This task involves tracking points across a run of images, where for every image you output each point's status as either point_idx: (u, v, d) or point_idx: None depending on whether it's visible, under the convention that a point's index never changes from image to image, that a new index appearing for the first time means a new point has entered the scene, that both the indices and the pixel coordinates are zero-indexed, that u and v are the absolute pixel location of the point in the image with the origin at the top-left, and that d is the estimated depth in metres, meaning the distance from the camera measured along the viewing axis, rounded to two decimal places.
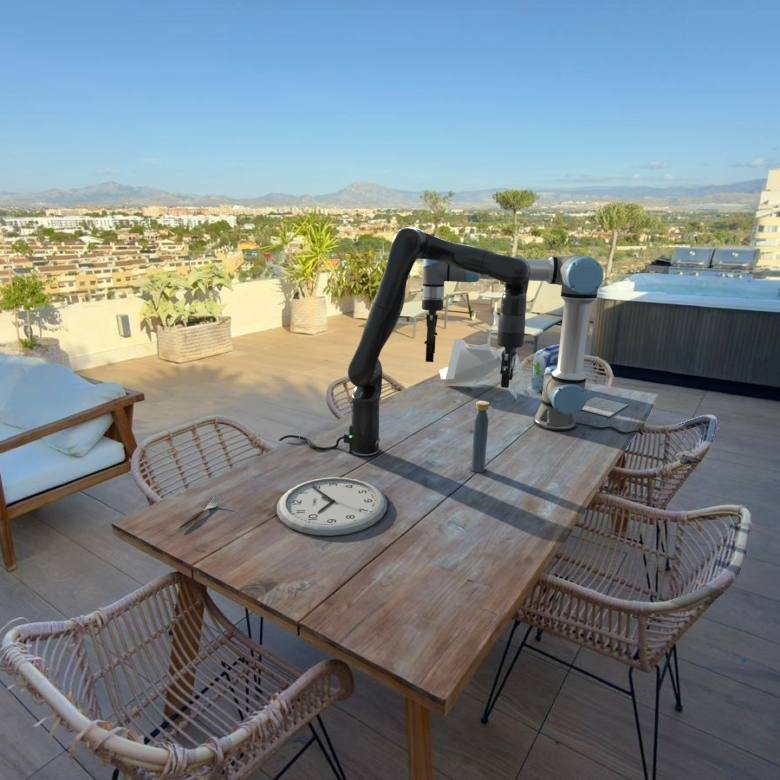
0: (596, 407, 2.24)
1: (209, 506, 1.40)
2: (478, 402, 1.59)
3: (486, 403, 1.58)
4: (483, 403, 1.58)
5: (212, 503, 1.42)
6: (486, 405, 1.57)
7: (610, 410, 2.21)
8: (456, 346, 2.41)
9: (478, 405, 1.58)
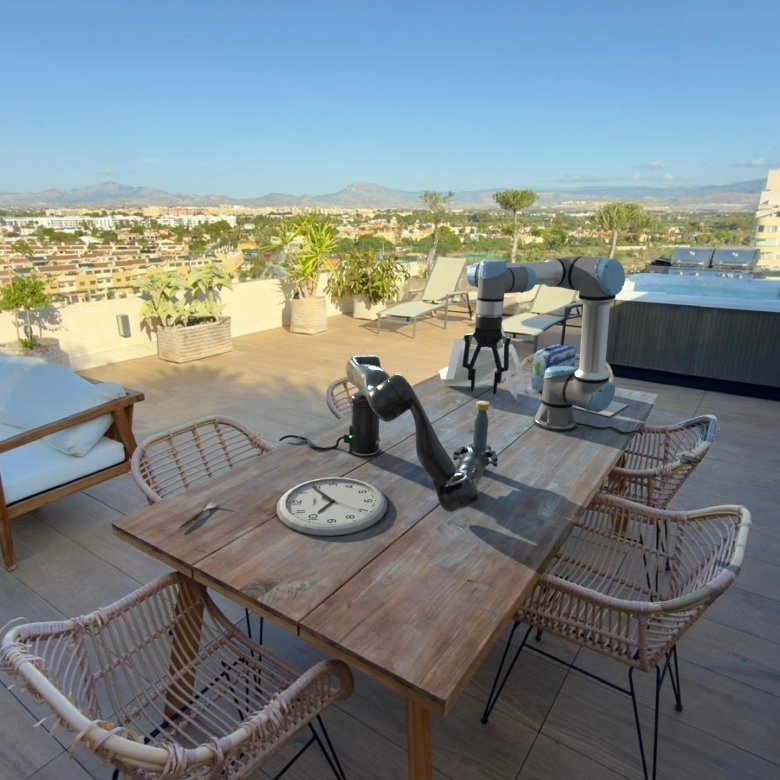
0: None
1: (209, 506, 1.40)
2: (478, 402, 1.59)
3: (486, 403, 1.58)
4: (483, 403, 1.58)
5: (212, 503, 1.42)
6: (486, 405, 1.57)
7: (610, 410, 2.21)
8: (456, 346, 2.41)
9: (478, 405, 1.58)
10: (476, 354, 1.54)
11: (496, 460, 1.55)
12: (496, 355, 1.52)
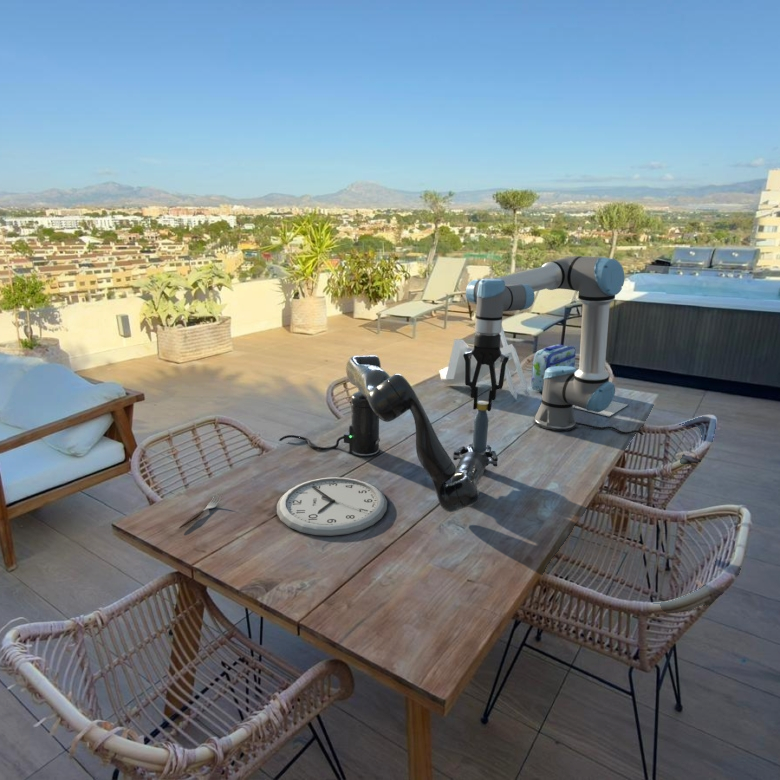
0: None
1: (209, 506, 1.40)
2: (478, 402, 1.59)
3: (486, 403, 1.58)
4: (483, 403, 1.58)
5: (212, 503, 1.42)
6: (486, 405, 1.57)
7: (610, 410, 2.21)
8: (456, 346, 2.41)
9: (478, 405, 1.58)
10: (477, 372, 1.55)
11: (496, 460, 1.55)
12: (492, 373, 1.54)
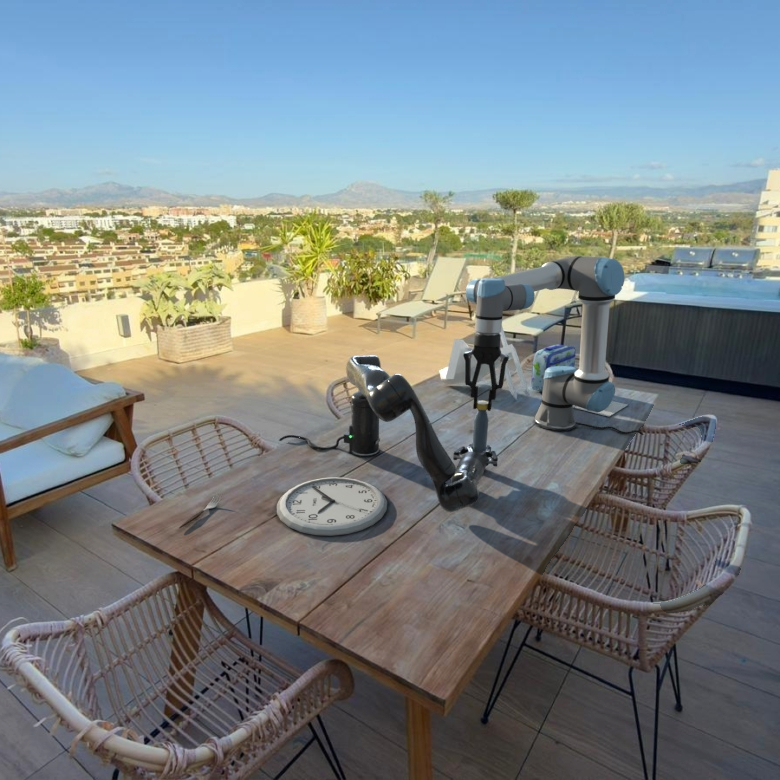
0: None
1: (209, 506, 1.40)
2: (485, 403, 1.58)
3: (482, 401, 1.60)
4: (484, 401, 1.59)
5: (212, 503, 1.42)
6: None
7: (610, 410, 2.21)
8: (456, 346, 2.41)
9: None
10: (477, 371, 1.55)
11: (496, 460, 1.55)
12: (492, 372, 1.54)
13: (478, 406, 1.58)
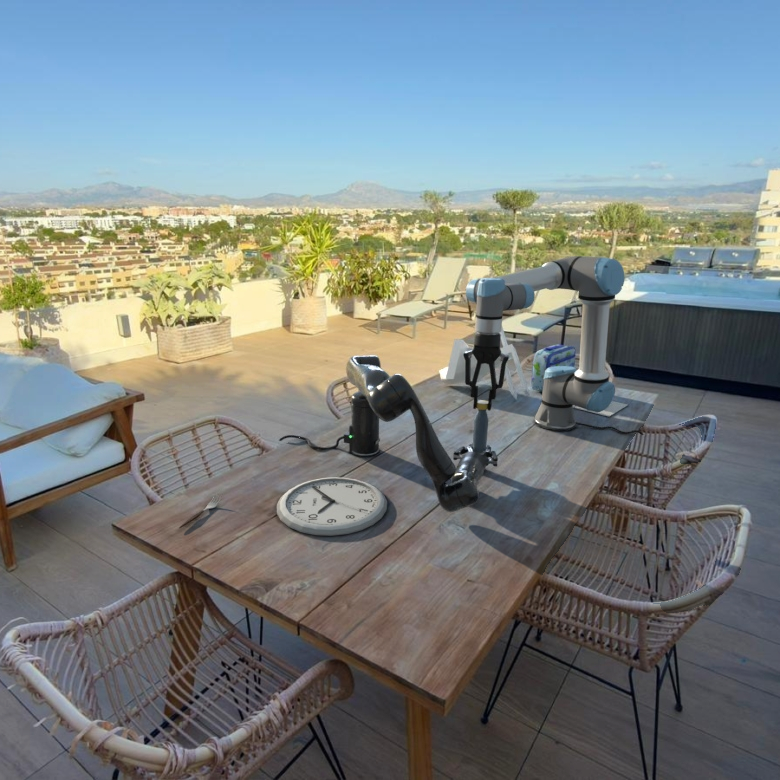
0: None
1: (209, 506, 1.40)
2: (484, 400, 1.60)
3: (479, 402, 1.58)
4: (480, 401, 1.59)
5: (212, 503, 1.42)
6: (476, 403, 1.59)
7: (610, 410, 2.21)
8: (456, 346, 2.41)
9: None
10: (477, 371, 1.55)
11: (496, 460, 1.55)
12: (493, 372, 1.54)
13: None
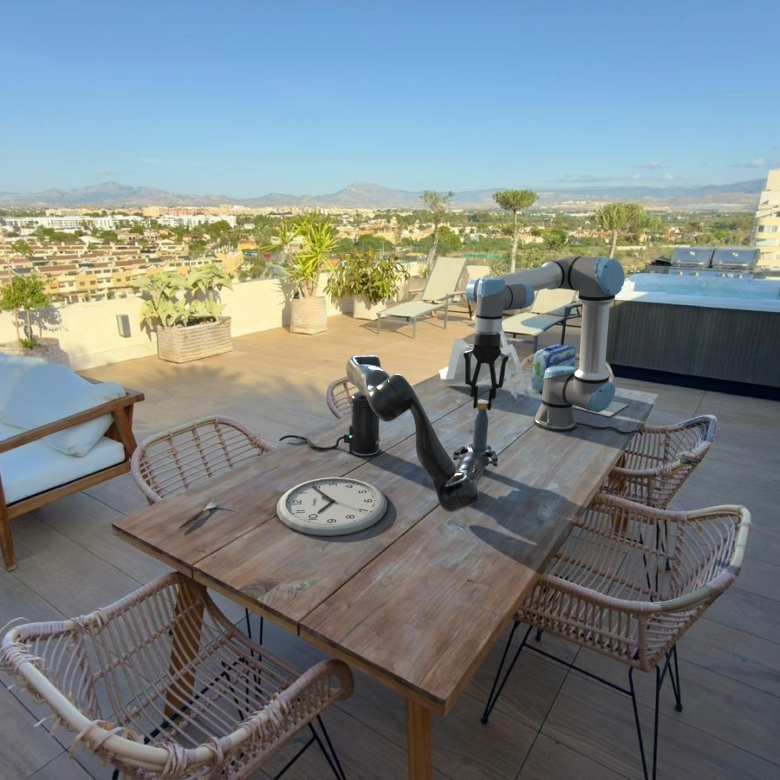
0: None
1: (209, 506, 1.40)
2: (478, 401, 1.59)
3: (486, 402, 1.58)
4: (483, 402, 1.58)
5: (212, 503, 1.42)
6: (487, 404, 1.57)
7: (610, 410, 2.21)
8: (456, 346, 2.41)
9: (478, 404, 1.58)
10: (477, 371, 1.55)
11: (496, 460, 1.55)
12: (493, 372, 1.54)
13: None
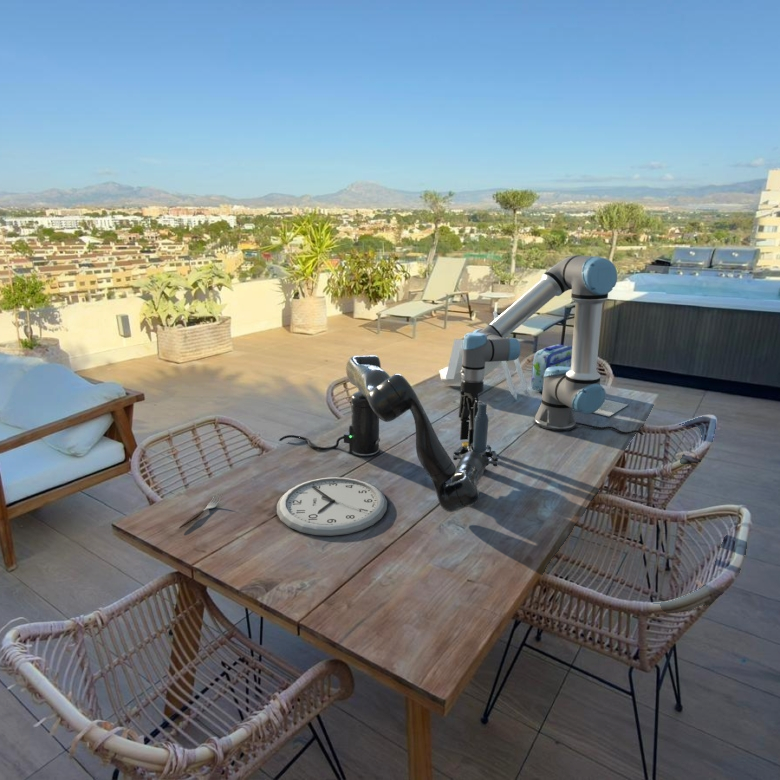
0: None
1: (209, 506, 1.40)
2: None
3: (467, 442, 1.82)
4: None
5: (212, 503, 1.42)
6: None
7: (610, 410, 2.21)
8: (456, 346, 2.41)
9: None
10: None
11: (496, 460, 1.55)
12: None
13: None
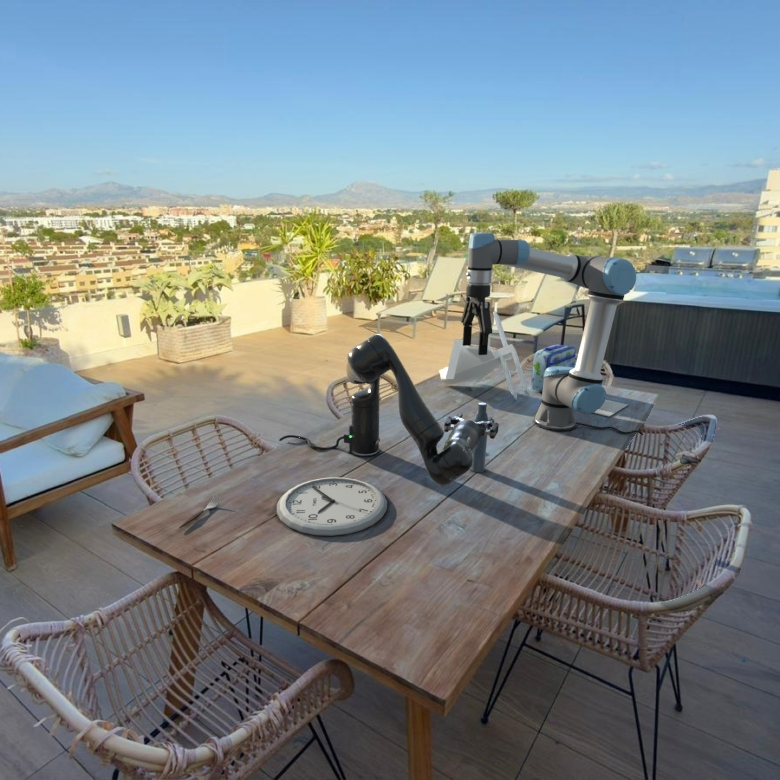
0: None
1: (209, 506, 1.40)
2: None
3: None
4: None
5: (212, 503, 1.42)
6: None
7: (610, 410, 2.21)
8: (456, 346, 2.41)
9: None
10: None
11: (492, 431, 1.38)
12: None
13: None
